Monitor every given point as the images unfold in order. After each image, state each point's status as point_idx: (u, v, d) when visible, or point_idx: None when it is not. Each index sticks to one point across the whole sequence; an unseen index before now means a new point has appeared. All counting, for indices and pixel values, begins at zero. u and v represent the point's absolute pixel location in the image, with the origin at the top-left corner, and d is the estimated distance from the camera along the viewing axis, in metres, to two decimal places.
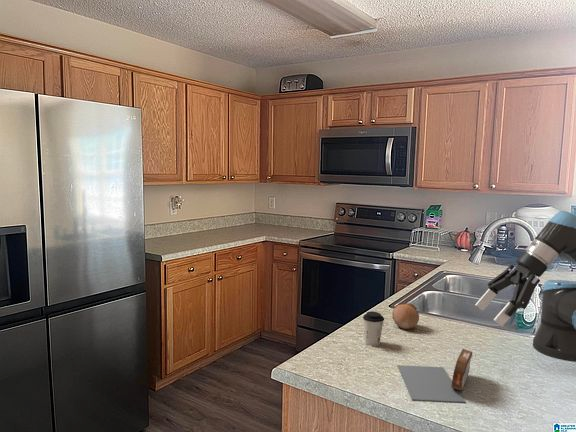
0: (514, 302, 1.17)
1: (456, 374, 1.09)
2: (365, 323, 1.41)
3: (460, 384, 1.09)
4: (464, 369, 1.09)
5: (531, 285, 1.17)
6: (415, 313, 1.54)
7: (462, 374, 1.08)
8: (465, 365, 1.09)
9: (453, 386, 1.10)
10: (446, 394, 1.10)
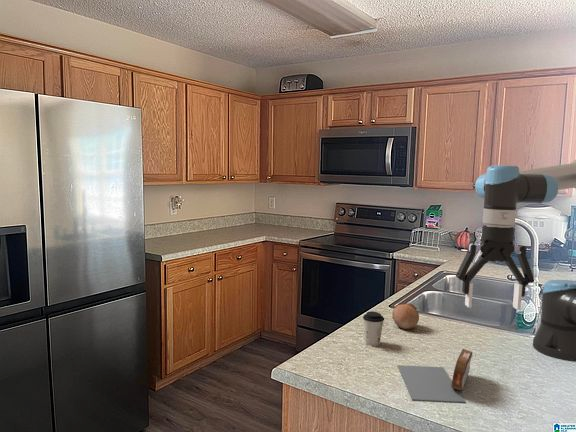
0: None
1: (456, 374, 1.09)
2: (365, 323, 1.41)
3: (460, 384, 1.09)
4: (464, 369, 1.09)
5: None
6: (415, 313, 1.54)
7: (462, 374, 1.08)
8: (465, 365, 1.09)
9: (453, 386, 1.10)
10: (446, 394, 1.10)
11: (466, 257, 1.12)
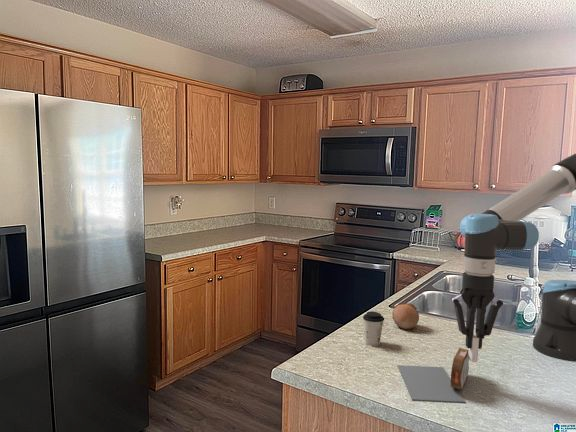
0: None
1: (453, 373, 1.09)
2: (365, 323, 1.41)
3: (459, 382, 1.09)
4: (461, 367, 1.09)
5: None
6: (415, 313, 1.54)
7: (460, 372, 1.09)
8: (462, 363, 1.10)
9: (452, 385, 1.10)
10: (446, 394, 1.10)
11: (456, 312, 1.14)
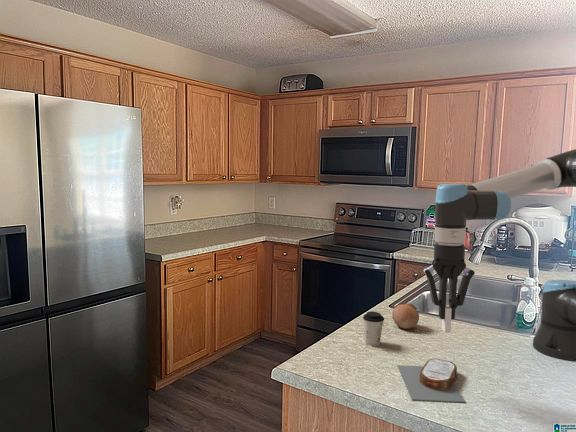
0: None
1: (427, 385, 1.13)
2: (365, 323, 1.41)
3: (436, 381, 1.12)
4: (423, 376, 1.14)
5: None
6: (415, 313, 1.54)
7: (426, 379, 1.13)
8: (420, 374, 1.15)
9: (443, 388, 1.12)
10: (446, 394, 1.10)
11: (428, 283, 1.13)
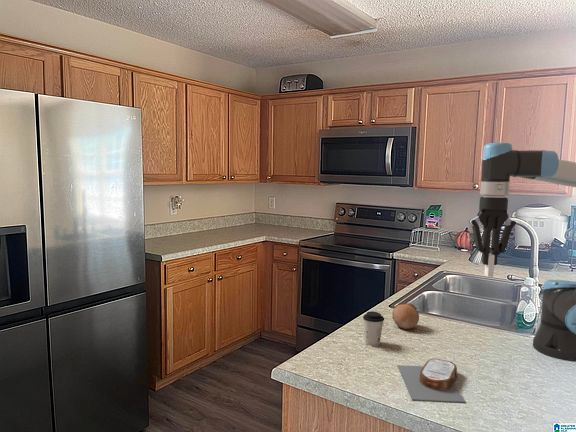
0: None
1: (427, 385, 1.13)
2: (365, 323, 1.41)
3: (436, 381, 1.12)
4: (423, 376, 1.14)
5: None
6: (415, 313, 1.54)
7: (426, 379, 1.13)
8: (420, 374, 1.15)
9: (443, 388, 1.12)
10: (446, 394, 1.10)
11: (474, 232, 1.27)
